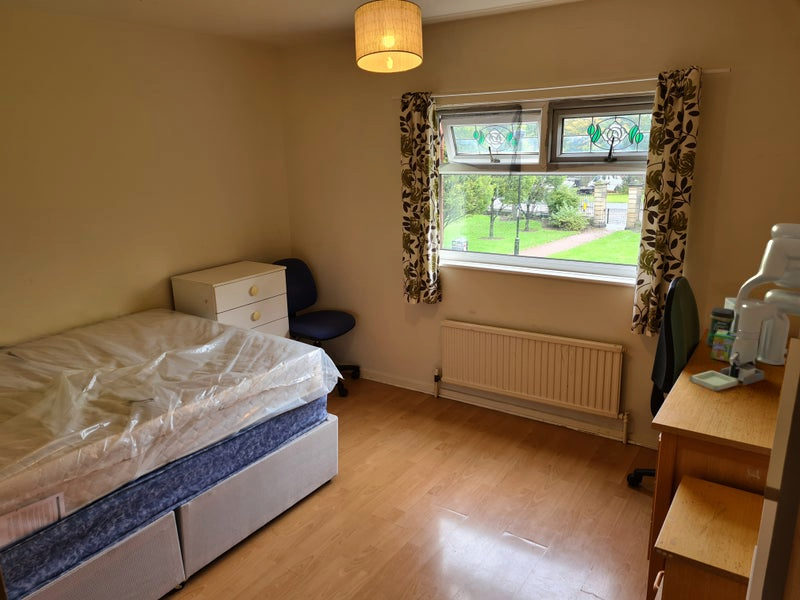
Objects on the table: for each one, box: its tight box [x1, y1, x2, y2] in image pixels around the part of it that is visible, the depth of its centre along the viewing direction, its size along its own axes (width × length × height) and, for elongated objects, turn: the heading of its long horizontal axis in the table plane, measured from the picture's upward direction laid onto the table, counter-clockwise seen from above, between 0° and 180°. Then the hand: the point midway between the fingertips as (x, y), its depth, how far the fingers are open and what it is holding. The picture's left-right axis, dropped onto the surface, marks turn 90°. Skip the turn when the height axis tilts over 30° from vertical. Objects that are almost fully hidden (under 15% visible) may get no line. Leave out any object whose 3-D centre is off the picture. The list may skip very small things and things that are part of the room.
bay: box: [720, 366, 766, 386], centre depth 220 cm, size 13×10×3 cm
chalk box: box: [710, 326, 737, 363], centre depth 240 cm, size 9×9×15 cm
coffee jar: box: [706, 306, 735, 348], centre depth 254 cm, size 10×8×19 cm
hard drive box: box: [723, 297, 740, 332], centre depth 260 cm, size 16×8×20 cm, turn 168°
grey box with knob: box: [728, 362, 757, 382], centre depth 219 cm, size 5×7×7 cm
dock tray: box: [689, 370, 740, 392], centre depth 216 cm, size 13×11×2 cm
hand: (741, 374), depth 220 cm, fingers open, 8 cm apart
